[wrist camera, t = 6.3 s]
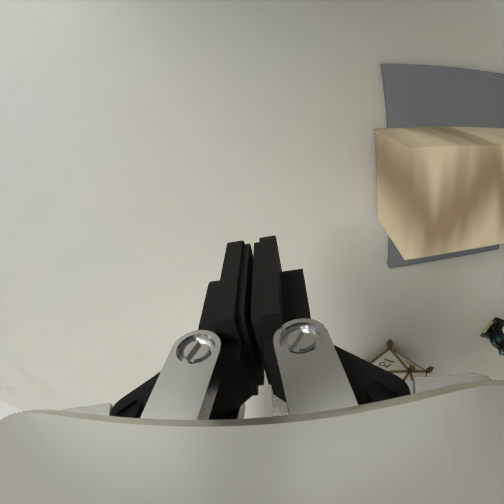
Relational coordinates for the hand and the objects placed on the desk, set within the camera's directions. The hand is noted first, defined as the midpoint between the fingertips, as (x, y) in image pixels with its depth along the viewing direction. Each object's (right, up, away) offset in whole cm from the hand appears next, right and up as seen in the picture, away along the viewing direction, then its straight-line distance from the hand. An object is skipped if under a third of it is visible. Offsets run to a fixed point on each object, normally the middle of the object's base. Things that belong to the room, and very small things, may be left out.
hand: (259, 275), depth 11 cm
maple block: (+7, +4, +5) cm, 10 cm away
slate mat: (+14, +7, +7) cm, 17 cm away
